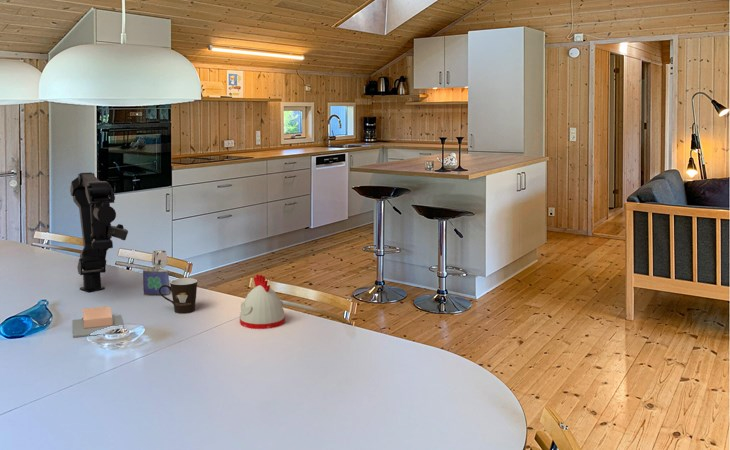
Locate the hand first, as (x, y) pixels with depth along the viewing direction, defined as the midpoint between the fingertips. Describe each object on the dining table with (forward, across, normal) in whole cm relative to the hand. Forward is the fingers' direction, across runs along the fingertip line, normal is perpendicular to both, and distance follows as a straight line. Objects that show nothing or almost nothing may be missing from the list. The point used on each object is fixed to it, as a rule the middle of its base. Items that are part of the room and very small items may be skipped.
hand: (102, 264), depth 216 cm
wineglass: (+13, +20, -21) cm, 32 cm away
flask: (+13, +4, -17) cm, 22 cm away
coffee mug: (+14, -18, -22) cm, 32 cm away
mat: (+13, -26, +3) cm, 29 cm away
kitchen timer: (+14, -40, -44) cm, 61 cm away
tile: (+11, -16, +3) cm, 20 cm away
